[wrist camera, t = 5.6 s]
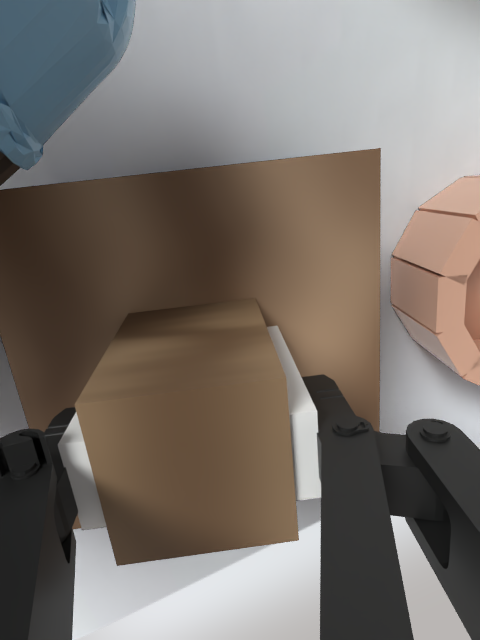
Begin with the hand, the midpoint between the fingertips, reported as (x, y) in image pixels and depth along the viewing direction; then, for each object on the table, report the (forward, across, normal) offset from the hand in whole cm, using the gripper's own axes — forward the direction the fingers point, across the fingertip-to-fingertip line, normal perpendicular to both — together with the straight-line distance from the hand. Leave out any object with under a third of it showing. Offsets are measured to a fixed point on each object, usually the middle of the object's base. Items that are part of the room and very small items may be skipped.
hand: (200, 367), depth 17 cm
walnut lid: (+2, 0, 0) cm, 2 cm away
